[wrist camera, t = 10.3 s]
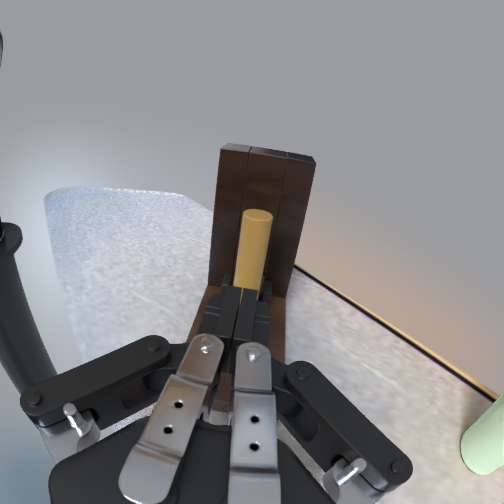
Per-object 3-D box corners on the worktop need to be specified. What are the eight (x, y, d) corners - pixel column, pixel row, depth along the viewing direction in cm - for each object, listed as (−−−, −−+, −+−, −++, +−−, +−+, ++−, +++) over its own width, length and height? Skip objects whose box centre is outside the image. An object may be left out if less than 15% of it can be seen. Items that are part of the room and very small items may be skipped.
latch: (278, 420, 17) (350, 223, 10) (170, 401, 17) (160, 192, 11) (282, 289, 30) (311, 155, 24) (214, 277, 30) (228, 142, 24)
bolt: (254, 319, 23) (272, 222, 19) (228, 315, 23) (241, 217, 19) (259, 277, 28) (275, 194, 24) (238, 274, 28) (250, 190, 24)
